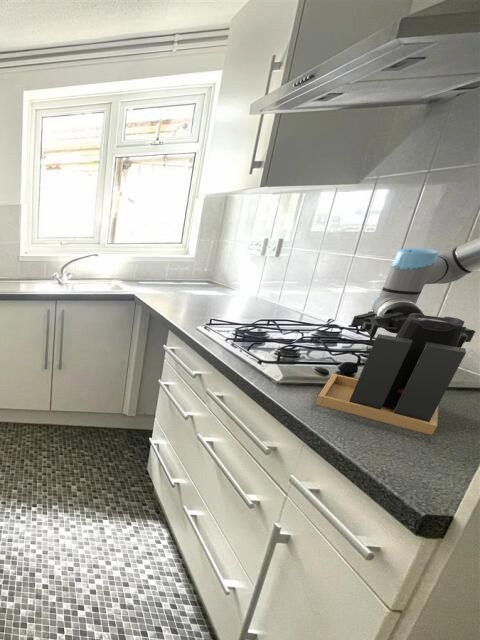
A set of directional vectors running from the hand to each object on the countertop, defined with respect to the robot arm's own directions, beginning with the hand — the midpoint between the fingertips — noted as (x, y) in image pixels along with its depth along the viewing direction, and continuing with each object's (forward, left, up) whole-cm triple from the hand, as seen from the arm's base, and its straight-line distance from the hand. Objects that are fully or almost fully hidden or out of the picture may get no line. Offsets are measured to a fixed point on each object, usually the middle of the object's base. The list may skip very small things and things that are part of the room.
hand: (415, 336), depth 91 cm
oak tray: (+2, +11, -14) cm, 18 cm away
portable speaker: (-1, +8, -14) cm, 16 cm away
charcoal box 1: (+3, +16, -14) cm, 21 cm away
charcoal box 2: (-4, +16, -14) cm, 21 cm away
